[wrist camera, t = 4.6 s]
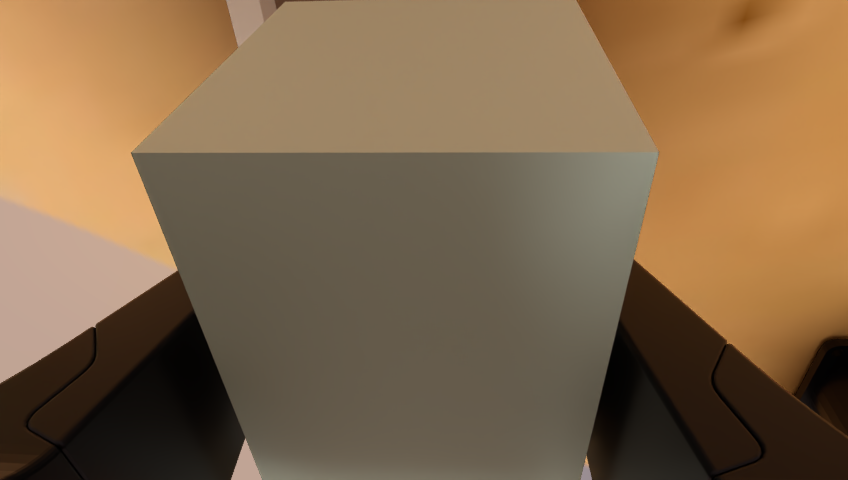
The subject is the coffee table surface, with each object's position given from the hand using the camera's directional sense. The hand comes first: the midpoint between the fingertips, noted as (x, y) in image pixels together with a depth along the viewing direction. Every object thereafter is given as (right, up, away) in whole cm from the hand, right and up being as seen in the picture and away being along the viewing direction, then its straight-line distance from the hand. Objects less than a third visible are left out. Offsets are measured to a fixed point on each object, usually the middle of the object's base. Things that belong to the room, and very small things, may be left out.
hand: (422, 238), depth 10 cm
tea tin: (0, +1, +1) cm, 2 cm away
